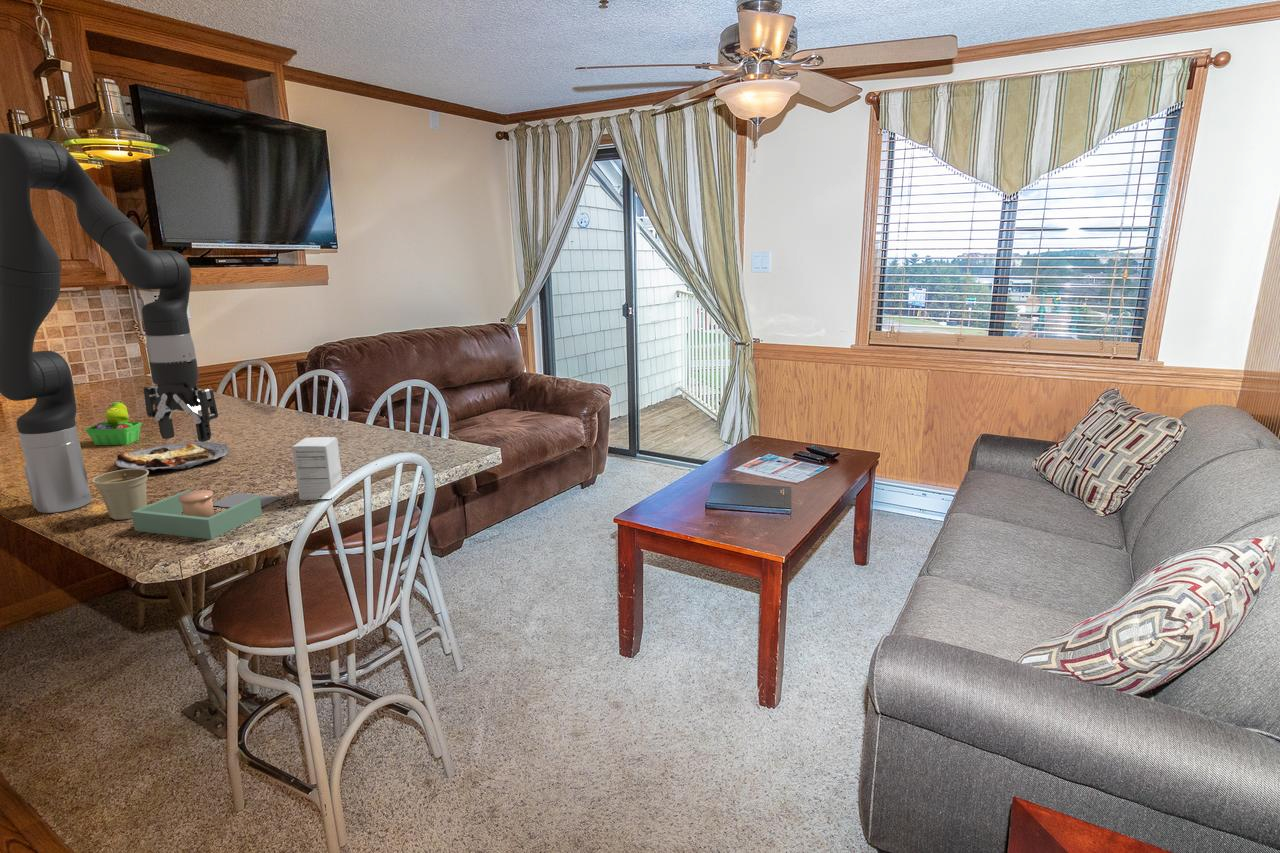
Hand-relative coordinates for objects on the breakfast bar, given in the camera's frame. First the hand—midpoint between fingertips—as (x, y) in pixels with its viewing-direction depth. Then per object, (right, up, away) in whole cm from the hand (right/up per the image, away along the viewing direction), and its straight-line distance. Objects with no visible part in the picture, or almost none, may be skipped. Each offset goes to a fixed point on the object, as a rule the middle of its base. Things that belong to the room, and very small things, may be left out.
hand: (186, 439), depth 133 cm
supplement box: (+17, -13, +21) cm, 30 cm away
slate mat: (+3, -14, +16) cm, 21 cm away
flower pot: (-18, -16, +8) cm, 25 cm away
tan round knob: (0, -17, +4) cm, 18 cm away
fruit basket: (-61, -2, +61) cm, 86 cm away
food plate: (-33, -7, +44) cm, 56 cm away
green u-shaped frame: (0, -17, +4) cm, 18 cm away
